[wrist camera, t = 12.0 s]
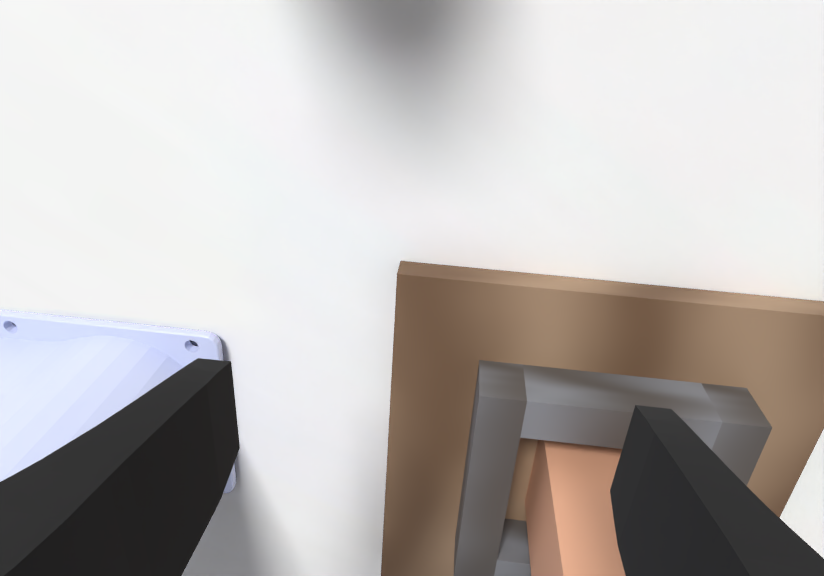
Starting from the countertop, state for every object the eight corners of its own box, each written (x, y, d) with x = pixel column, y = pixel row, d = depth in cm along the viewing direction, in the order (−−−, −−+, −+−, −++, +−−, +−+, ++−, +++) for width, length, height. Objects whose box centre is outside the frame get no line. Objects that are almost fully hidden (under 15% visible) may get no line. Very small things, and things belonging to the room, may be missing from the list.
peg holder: (383, 556, 27) (373, 619, 25) (400, 260, 20) (389, 304, 18) (720, 599, 27) (746, 668, 24) (859, 304, 19) (919, 357, 17)
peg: (524, 501, 24) (544, 727, 17) (541, 422, 22) (572, 639, 15) (627, 514, 23) (692, 748, 16) (653, 435, 21) (740, 662, 14)
